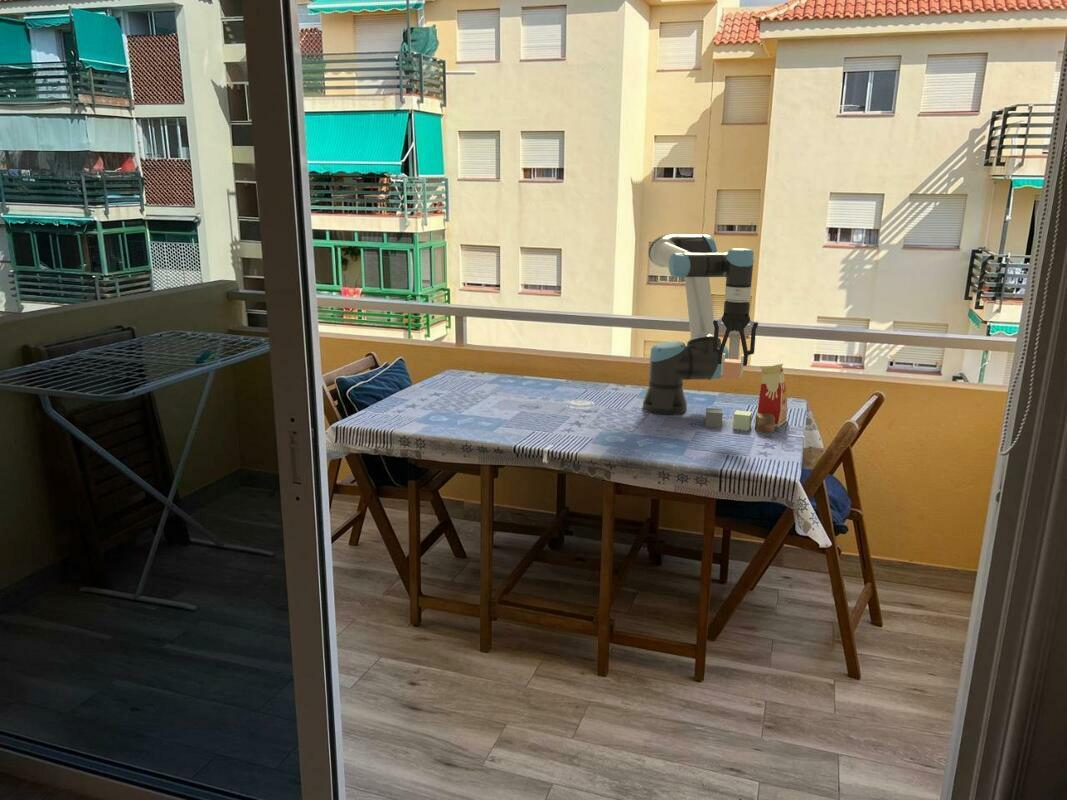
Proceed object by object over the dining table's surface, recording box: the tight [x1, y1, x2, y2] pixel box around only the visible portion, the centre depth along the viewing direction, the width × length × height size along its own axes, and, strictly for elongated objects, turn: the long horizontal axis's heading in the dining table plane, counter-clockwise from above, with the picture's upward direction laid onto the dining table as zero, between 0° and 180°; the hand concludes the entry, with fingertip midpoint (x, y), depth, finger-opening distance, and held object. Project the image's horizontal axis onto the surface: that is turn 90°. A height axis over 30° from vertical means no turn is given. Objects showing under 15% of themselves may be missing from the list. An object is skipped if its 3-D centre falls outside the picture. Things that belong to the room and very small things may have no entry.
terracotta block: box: [722, 358, 741, 380], centre depth 241 cm, size 5×5×5 cm
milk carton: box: [755, 363, 788, 428], centre depth 254 cm, size 9×9×20 cm
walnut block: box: [754, 412, 776, 434], centre depth 247 cm, size 5×5×5 cm
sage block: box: [732, 409, 753, 431], centre depth 250 cm, size 5×5×5 cm
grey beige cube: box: [704, 407, 724, 429], centre depth 252 cm, size 5×5×5 cm
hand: (731, 374), depth 241 cm, fingers closed on terracotta block, 5 cm apart
